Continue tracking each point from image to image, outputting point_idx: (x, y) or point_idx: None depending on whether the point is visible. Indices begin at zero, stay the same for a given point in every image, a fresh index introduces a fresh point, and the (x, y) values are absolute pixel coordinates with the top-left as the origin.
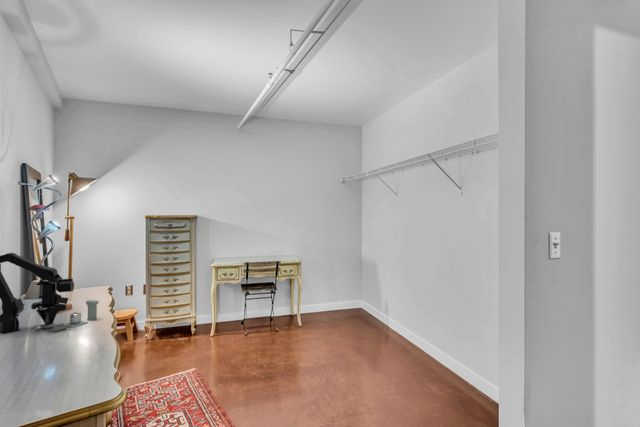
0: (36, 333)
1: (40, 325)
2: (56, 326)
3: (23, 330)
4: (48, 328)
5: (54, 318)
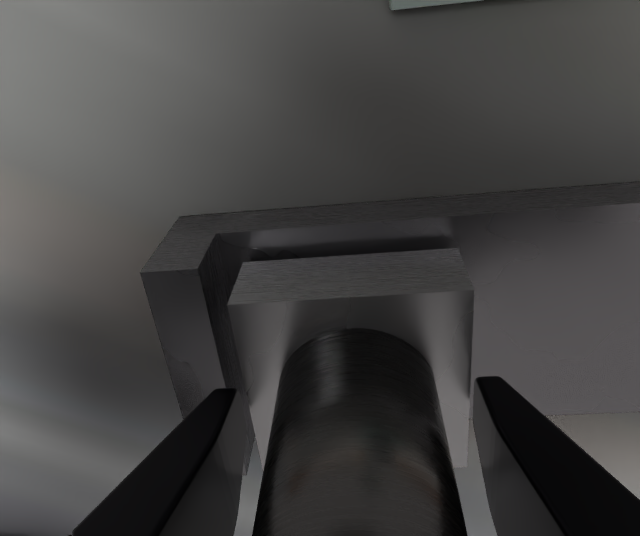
0: None
1: (244, 465)
2: (480, 228)
3: (30, 492)
4: None
5: (616, 486)
